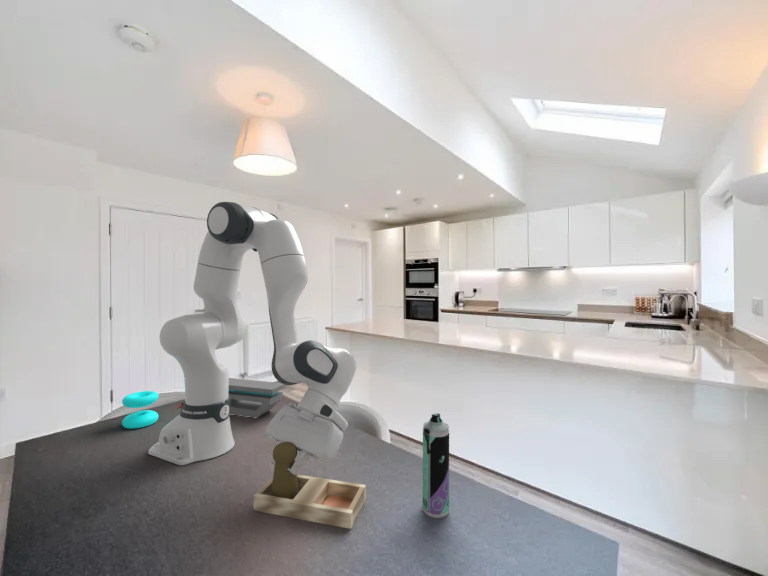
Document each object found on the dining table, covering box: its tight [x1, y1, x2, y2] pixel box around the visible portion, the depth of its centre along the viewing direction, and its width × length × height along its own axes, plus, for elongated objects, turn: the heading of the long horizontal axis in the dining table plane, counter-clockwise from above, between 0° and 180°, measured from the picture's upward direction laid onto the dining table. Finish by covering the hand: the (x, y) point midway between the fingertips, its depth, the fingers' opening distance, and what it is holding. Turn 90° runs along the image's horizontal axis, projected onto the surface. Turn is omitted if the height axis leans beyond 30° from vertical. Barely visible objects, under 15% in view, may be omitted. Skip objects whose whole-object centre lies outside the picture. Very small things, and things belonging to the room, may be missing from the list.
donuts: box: [121, 390, 160, 430], centre depth 113 cm, size 10×10×10 cm
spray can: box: [422, 412, 450, 519], centre depth 70 cm, size 6×6×20 cm
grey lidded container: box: [229, 377, 286, 418], centre depth 123 cm, size 25×8×11 cm, turn 74°
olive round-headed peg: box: [271, 442, 300, 499], centre depth 73 cm, size 6×6×11 cm
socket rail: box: [253, 473, 367, 530], centre depth 71 cm, size 22×10×3 cm, turn 76°
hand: (282, 468), depth 72 cm, fingers closed on olive round-headed peg, 4 cm apart
